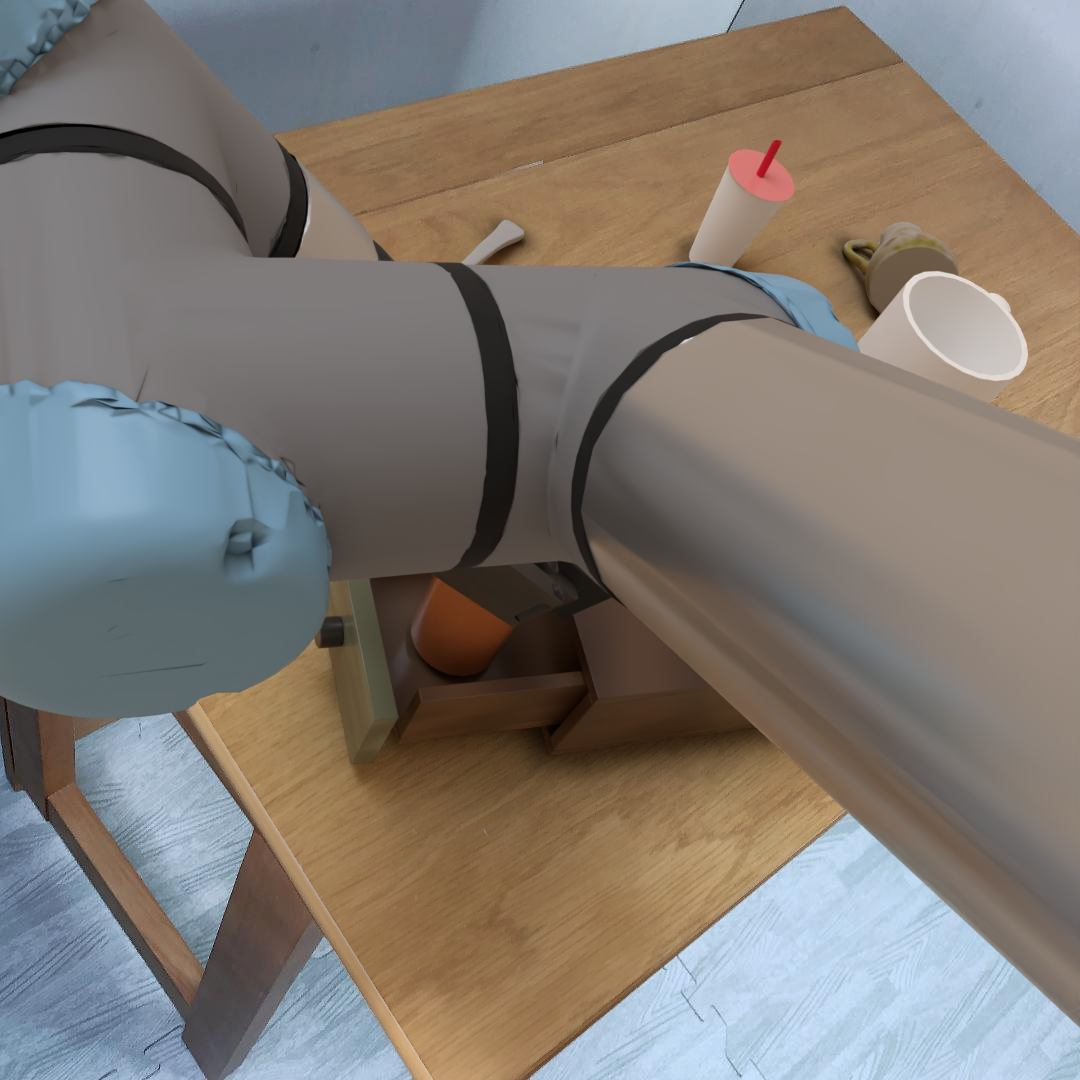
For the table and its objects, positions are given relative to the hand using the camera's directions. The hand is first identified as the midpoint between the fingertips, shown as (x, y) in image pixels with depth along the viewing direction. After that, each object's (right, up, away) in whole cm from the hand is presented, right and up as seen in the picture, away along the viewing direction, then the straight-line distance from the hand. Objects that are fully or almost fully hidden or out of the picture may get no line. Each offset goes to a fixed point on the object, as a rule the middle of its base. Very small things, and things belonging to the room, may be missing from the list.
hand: (569, 551), depth 58 cm
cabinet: (+4, -5, +12) cm, 14 cm away
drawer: (-7, -5, +7) cm, 11 cm away
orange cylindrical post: (-6, -5, +5) cm, 9 cm away
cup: (+12, +22, +34) cm, 42 cm away
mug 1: (+27, +22, +40) cm, 53 cm away
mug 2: (+26, +11, +32) cm, 42 cm away
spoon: (-6, +20, +25) cm, 32 cm away
